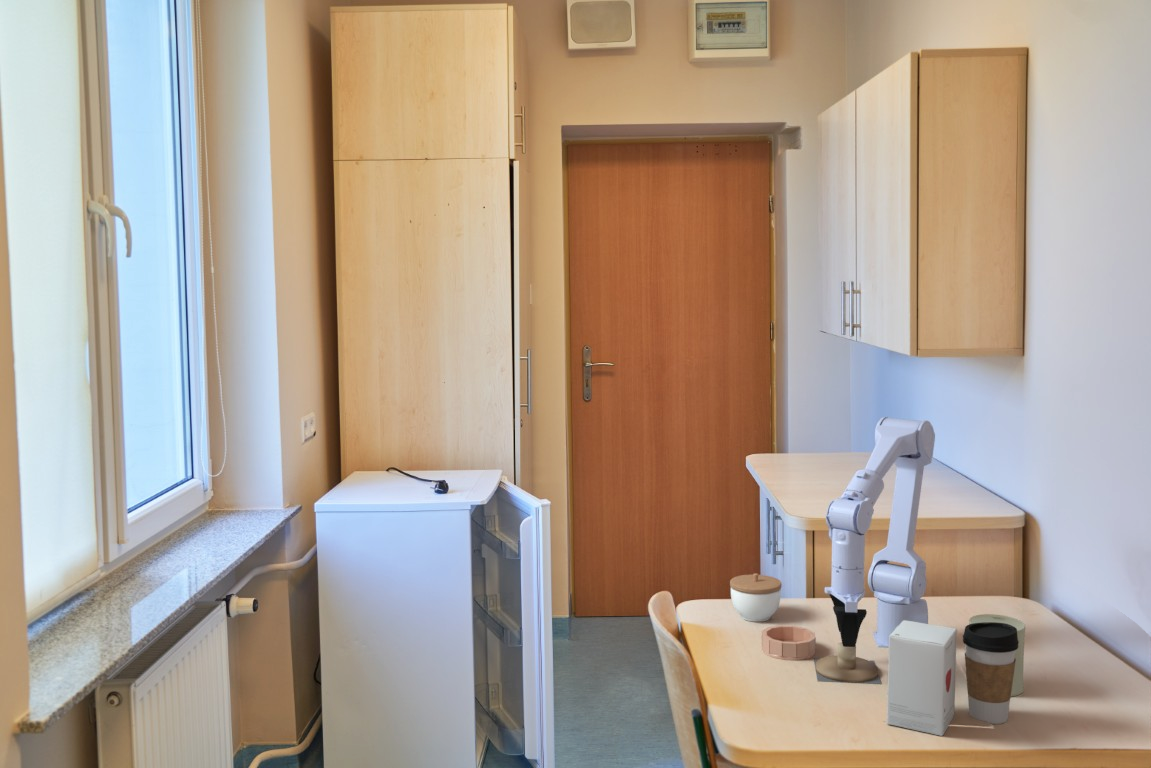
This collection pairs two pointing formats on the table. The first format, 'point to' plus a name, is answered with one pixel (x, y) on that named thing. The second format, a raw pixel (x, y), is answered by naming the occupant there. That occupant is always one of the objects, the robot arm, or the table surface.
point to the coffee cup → (990, 669)
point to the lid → (846, 666)
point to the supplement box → (921, 677)
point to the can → (1019, 653)
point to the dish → (788, 642)
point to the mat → (823, 679)
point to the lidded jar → (755, 596)
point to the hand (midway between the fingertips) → (846, 638)
